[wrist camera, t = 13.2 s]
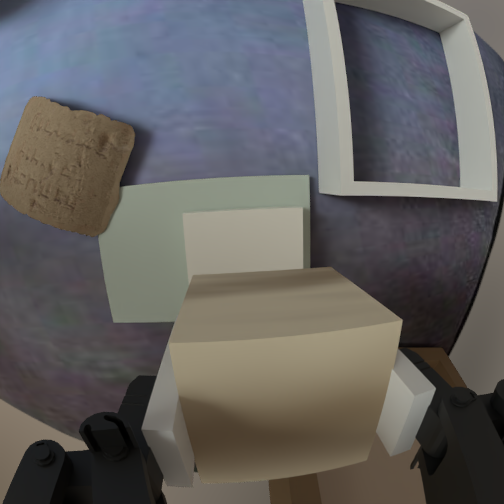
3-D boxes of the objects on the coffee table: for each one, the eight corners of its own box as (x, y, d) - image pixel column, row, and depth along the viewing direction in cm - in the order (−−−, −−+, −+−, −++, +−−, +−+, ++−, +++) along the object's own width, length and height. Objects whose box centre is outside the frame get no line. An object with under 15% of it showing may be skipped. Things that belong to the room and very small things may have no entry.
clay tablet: (142, 128, 21) (131, 121, 18) (100, 242, 23) (86, 248, 20) (29, 95, 19) (14, 89, 17) (-1, 190, 21) (-18, 191, 18)
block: (193, 274, 12) (168, 343, 7) (330, 266, 13) (402, 319, 7) (206, 388, 14) (201, 483, 8) (323, 377, 14) (366, 460, 8)
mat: (115, 319, 25) (113, 322, 25) (96, 190, 22) (93, 190, 22) (307, 309, 27) (309, 312, 26) (307, 175, 24) (309, 175, 23)
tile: (193, 324, 23) (302, 316, 24) (182, 213, 21) (302, 207, 22) (195, 315, 25) (297, 308, 26) (185, 211, 23) (297, 205, 24)
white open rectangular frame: (319, 192, 24) (341, 195, 19) (301, -10, 19) (314, -38, 15) (465, 196, 26) (497, 201, 21) (443, 28, 21) (467, 15, 16)
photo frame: (269, 332, 27) (356, 619, 3) (437, 343, 30) (567, 468, 5) (240, 435, 30) (263, 627, 6) (390, 429, 33) (465, 556, 9)
